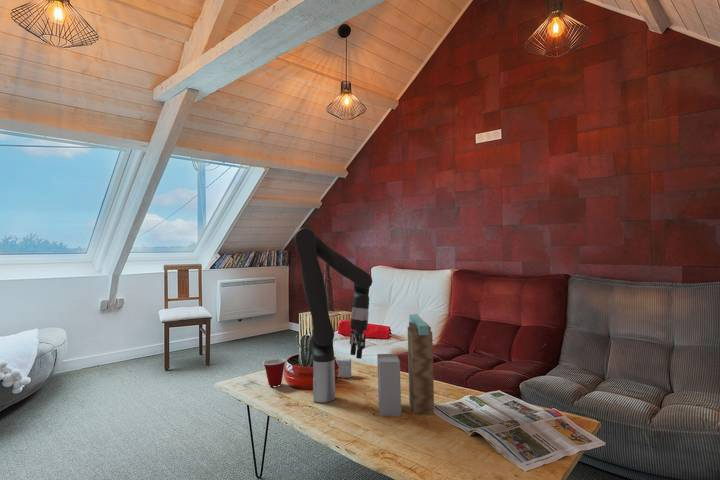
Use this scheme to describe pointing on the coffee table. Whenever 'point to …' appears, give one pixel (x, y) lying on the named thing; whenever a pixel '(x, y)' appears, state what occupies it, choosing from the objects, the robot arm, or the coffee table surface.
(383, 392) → the tall gray pillar
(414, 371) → the post
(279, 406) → the coffee table surface
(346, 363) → the medicine box
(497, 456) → the coffee table surface
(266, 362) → the plastic cup
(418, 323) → the bar
